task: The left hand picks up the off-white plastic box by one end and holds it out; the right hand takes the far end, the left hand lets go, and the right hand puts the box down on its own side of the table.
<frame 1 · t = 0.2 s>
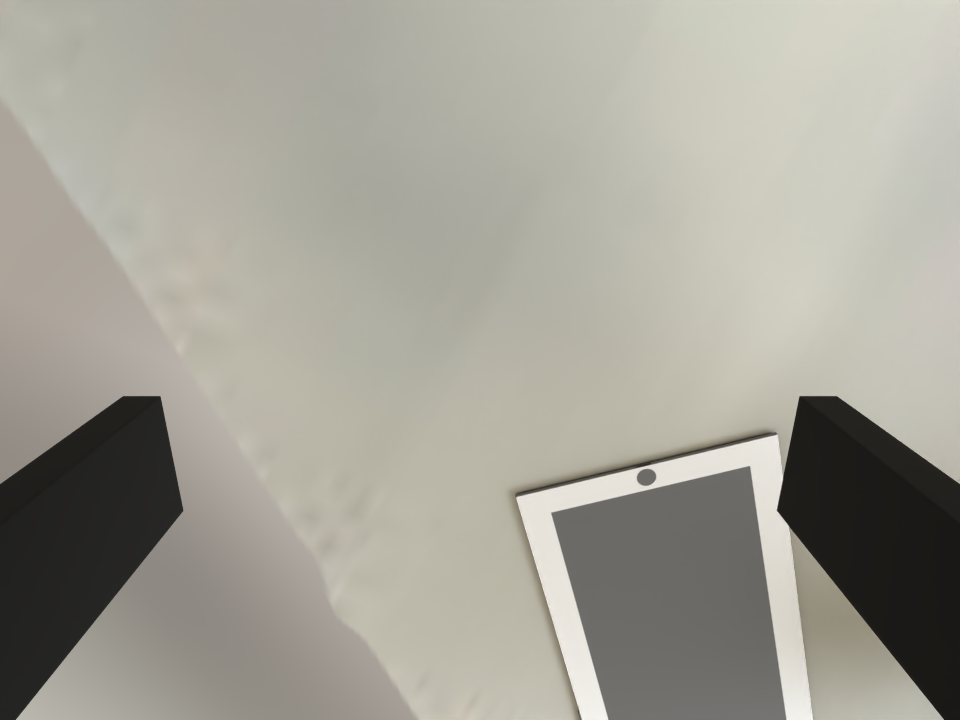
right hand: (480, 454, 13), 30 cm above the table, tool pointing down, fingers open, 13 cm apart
tablet: (675, 622, 51), on the table
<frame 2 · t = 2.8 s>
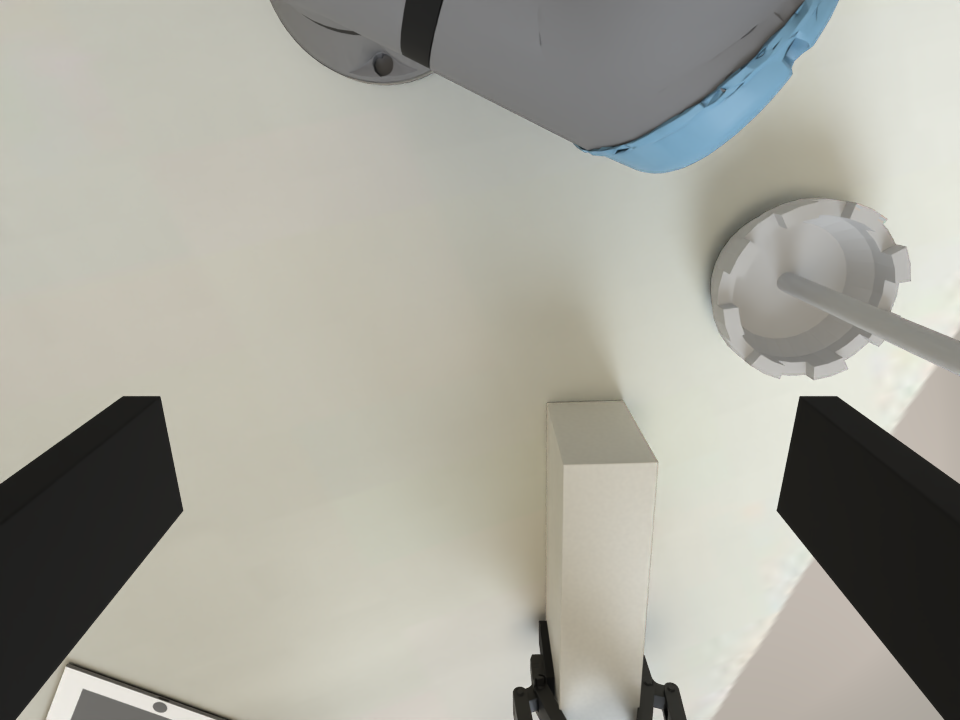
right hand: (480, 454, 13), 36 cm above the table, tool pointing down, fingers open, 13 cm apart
box: (581, 533, 55), on the table, touching left hand
flag stand: (779, 279, 47), on the table
when the left hand's fingers open (13 cm above the table, at t = 9.0 s): box stays where it is, held by the right hand.
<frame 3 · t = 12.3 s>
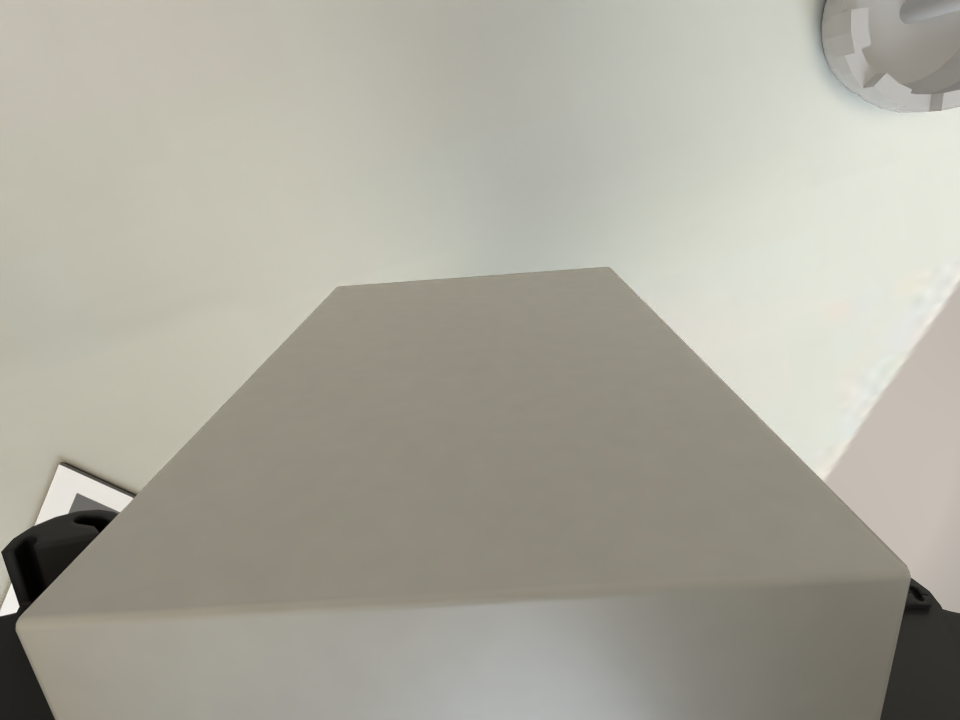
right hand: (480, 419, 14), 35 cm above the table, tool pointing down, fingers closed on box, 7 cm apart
box: (505, 694, 19), point 34 cm above the table, touching right hand, left hand
flag stand: (899, 15, 42), on the table
tablet: (111, 624, 61), on the table
when the right hand's fingers open (3 cm above the table, at t = 17.8 s): box drops 1 cm, on the table.
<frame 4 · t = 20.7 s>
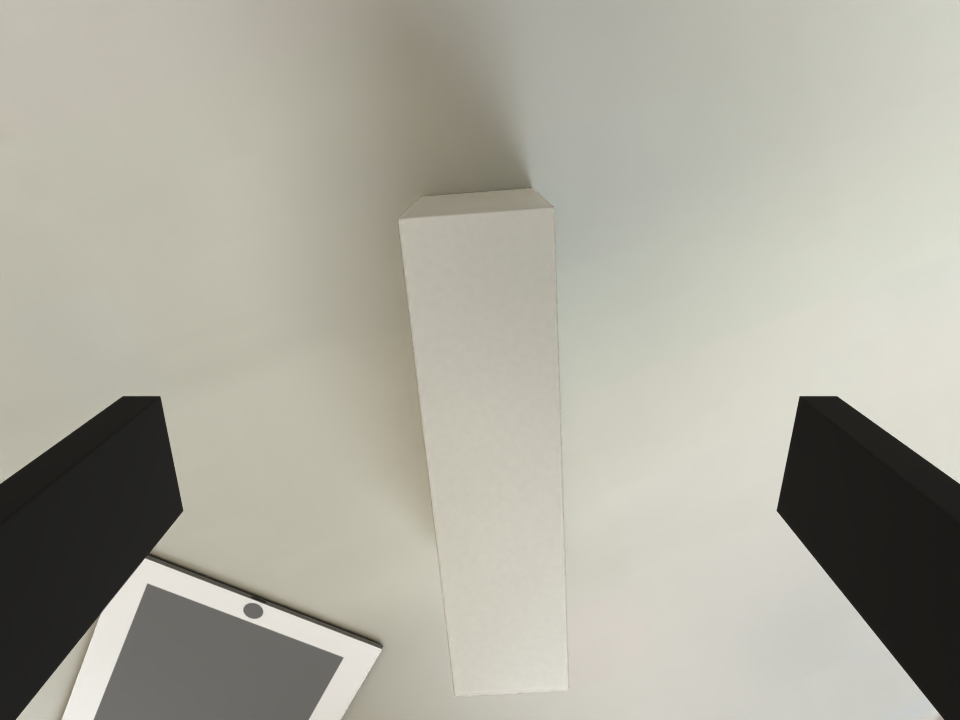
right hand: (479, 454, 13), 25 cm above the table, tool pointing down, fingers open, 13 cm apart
box: (492, 402, 39), on the table
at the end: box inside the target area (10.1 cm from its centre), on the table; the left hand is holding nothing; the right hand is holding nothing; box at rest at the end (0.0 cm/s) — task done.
